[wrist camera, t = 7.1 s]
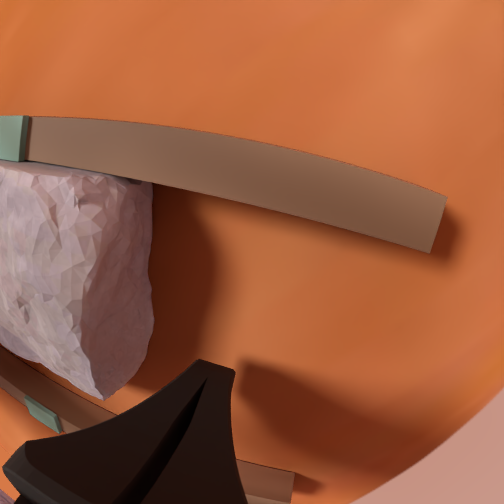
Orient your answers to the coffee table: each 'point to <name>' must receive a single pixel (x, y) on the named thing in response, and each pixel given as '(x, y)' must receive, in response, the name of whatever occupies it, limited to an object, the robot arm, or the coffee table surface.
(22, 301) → the stone block
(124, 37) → the coffee table surface
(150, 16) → the coffee table surface
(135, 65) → the coffee table surface
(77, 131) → the channel
